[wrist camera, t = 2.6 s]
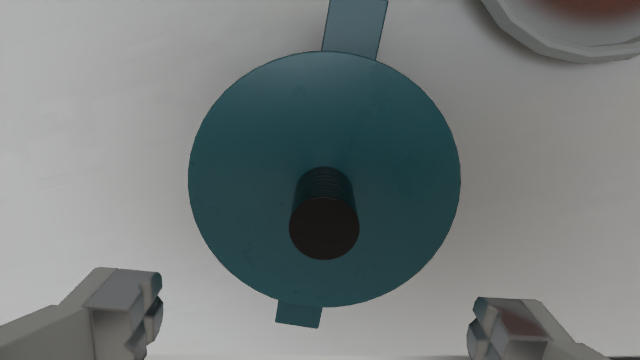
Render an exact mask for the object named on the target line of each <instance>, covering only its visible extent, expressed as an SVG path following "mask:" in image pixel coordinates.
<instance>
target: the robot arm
mask: <svg viewBox="0 0 640 360" xmlns="http://www.w3.org/2000/svg"><path fill="white" fill-rule="evenodd" d="M161 289H162V278H161V275H160V274H159V272H150V271H139V270H129V269H118V268H106V267H99V268H95V269H94V270H93V271H92V272H91V273H90V274H89V275H88V276H87V277H86V278H85V279H84V280H83V281H82V282H81V283H80V284H79V285H78V286H77V287H76V288H75V289H74V290H73V291H72V292H71V293H70V294H69V295H68V296H67V297H66V298H65V299H64V300H63V301H62V302H61V303H60V304H59V305H50V306H48V307H45V308H43V309H40V310H38V311H35V312H33V313H31V314H28V315H26V316H23V317H21V318H18V319H16V320H14V321H11V322H9V323H6V324H4V325H2V326H0V360H144V358H145V357H146V355H147V349H146V345H148V344H150V343H151V342H153V341H154V340H155V338H156V336H157V335H158V333H159V330H160V326H161V323H162V318H163V302H162V301H161V299H160V298H159V297H158V296H157V295H158V293H159V292H160V290H161ZM473 312H474V314H475V316H476V317H477V318H476V319H475V320H474V321H473V322H471V323H470V324H469V327H468V331H467V349H468V353H469V356H470V358H471V360H611V359H609V358H607V357H606V356H604V355H602V354H600V353H599V352H597V351H595V350H593V349H592V348H590V347H588V346H586V345H585V344H583V343H576V342H575V341H574V340H573V339H572V338H571V336H570V335H569V334H568V333H567V332H566V331H565V329H564V328H563V327H562V326H561V325H560V324H559V322H558V321H557V320H556V319H555V318H554V317H553V315H552V314H551V313H550V312H549V311H548V310H547V308H546V307H545V306H544V305H543V304H542V303H541V302H540V301H538V300H534V299H506V298H488V297H478V298H477V300H476V301H475V304H474V307H473Z"/></svg>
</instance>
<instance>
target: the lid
mask: <svg viewBox="0 0 640 360" xmlns="http://www.w3.org/2000/svg"><path fill="white" fill-rule="evenodd" d="M460 185H461V177H460V163H459V157H458V152H457V148H456V145H455V142H454V139H453V136H452V133H451V131H450V129H449V127H448V125H447V123H446V121H445V119H444V117H443V115H442V114H441V112H440V111H439V109H438V108H437V107H436V105H435V104H434V102H433V101H432V100H431V99H430V98H429V97H428V96H427V95H426V93H425V92H424V91H423V90H422V89H421V88H420V87H419V86H417V85H416V84H415V83H414V82H412V81H411V80H410V79H409V78H407V77H406V76H405V75H403V74H401V73H400V72H398V71H396V70H395V69H393V68H391V67H389V66H387V65H385V64H383V63H380V62H378V61H375V60H373V59H371V58H367V57H364V56H360V55H356V54H352V53H346V52H337V51H310V52H304V53H297V54H292V55H289V56H285V57H282V58H279V59H275V60H273V61H271V62H268V63H266V64H264V65H262V66H260V67H258V68H255V69H254V70H252V71H251V72H249V73H248V74H246V75H245V76H243V77H241V78H240V79H239V80H237V81H236V82H235V83H234V84H233V85H232V86H230V87H229V88H228V89H227V90H226V91H225V92H224V93H223V94H222V95H221V96H220V98H219V99H218V100H217V101H216V102H215V103H214V104H213V106H212V107H211V109H210V110H209V112H208V113H207V115H206V117H205V118H204V120H203V121H202V124H201V126H200V128H199V130H198V132H197V135H196V137H195V140H194V144H193V147H192V150H191V154H190V161H189V168H188V190H189V197H190V204H191V208H192V211H193V215H194V219H195V221H196V224H197V226H198V228H199V231H200V233H201V235H202V237H203V239H204V240H205V242H206V244H207V245H208V247H209V249H210V250H211V251H212V252H213V254H214V255H215V256H216V258H217V259H218V260H219V261H220V262H221V263H222V264H223V265H224V266H225V267H226V268H227V269H228V270H229V271H230V272H231V273H232V274H233V275H234V276H236V277H237V278H238V279H239V280H241V281H242V282H243V283H245V284H247V285H248V286H250V287H251V288H253V289H255V290H256V291H258V292H261V293H263V294H265V295H267V296H269V297H271V298H274V299H277V300H281V301H284V302H287V303H291V304H296V305H301V306H309V307H339V306H347V305H353V304H357V303H361V302H365V301H368V300H371V299H374V298H376V297H379V296H382V295H384V294H386V293H388V292H390V291H392V290H394V289H396V288H397V287H399V286H400V285H402V284H403V283H405V282H406V281H408V280H409V279H410V278H412V277H413V276H414V275H415V274H416V273H418V272H419V271H420V270H421V269H422V268H423V267H424V266H425V265H426V264H427V263H428V262H429V261H430V260H431V258H432V257H433V256H434V254H435V253H436V252H437V250H438V249H439V248H440V246H441V245H442V243H443V241H444V239H445V237H446V236H447V234H448V232H449V230H450V227H451V225H452V222H453V220H454V217H455V214H456V210H457V206H458V202H459V195H460Z"/></svg>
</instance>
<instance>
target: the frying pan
mask: <svg viewBox="0 0 640 360" xmlns="http://www.w3.org/2000/svg"><path fill="white" fill-rule="evenodd" d="M481 1H482V3H483V4H484V6H485V7H486V9H487V10H488V11H489V13H490V14H491V16H492V17H493V19H494V20H495V22H496V23H497V25H498V26H499V28H501V29H502V30H504V31H505V32H506V33H508V34H509V35H511V36H512V37H514V38H515V39H517V40H518V41H519V42H521V43H522V44H524V45H525V46H527V47H528V48H530V49H531V50H532V51H534V52H535V53H537V54H541V55H545V56H549V57H553V58H558V59H562V60H566V61H570V62H574V63H578V64H586V63H596V62H607V61H618V60H628V59H630V58H633V57H635V56H638V55H640V0H481Z"/></svg>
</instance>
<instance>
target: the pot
mask: <svg viewBox="0 0 640 360" xmlns="http://www.w3.org/2000/svg"><path fill="white" fill-rule="evenodd" d="M387 6H388V0H330V2H329V8H328V13H327V19H326V25H325V31H324V37H323V43H322V49H321V51H337V52H346V53H352V54H356V55H360V56H364V57H367V58H371V59H373V60H375V61H376V57H377V52H378V48H379V43H380V38H381V34H382V29H383V24H384V20H385V15H386V10H387ZM322 308H323V307H309V306H301V305H296V304H291V303H287V302H284V301H281V300H279V301H278V307H277V313H276V319H275V322H277V323H283V324H290V325H297V326H303V327H310V328H316V329H317V328H318V327H319V322H320V317H321V313H322Z"/></svg>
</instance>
